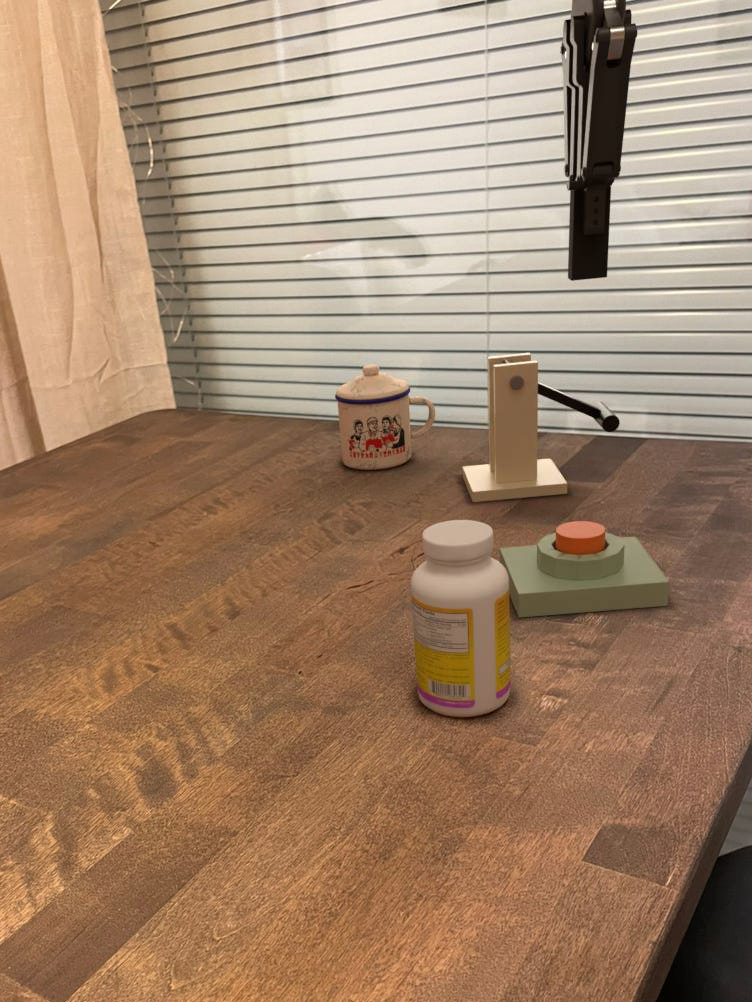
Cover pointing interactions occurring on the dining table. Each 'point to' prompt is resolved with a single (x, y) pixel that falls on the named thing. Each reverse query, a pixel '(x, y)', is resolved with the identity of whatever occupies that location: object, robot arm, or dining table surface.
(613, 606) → the button box
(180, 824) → the dining table surface
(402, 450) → the teacup with lid
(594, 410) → the black lever
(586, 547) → the button
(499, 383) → the lever stand
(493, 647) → the supplement bottle
